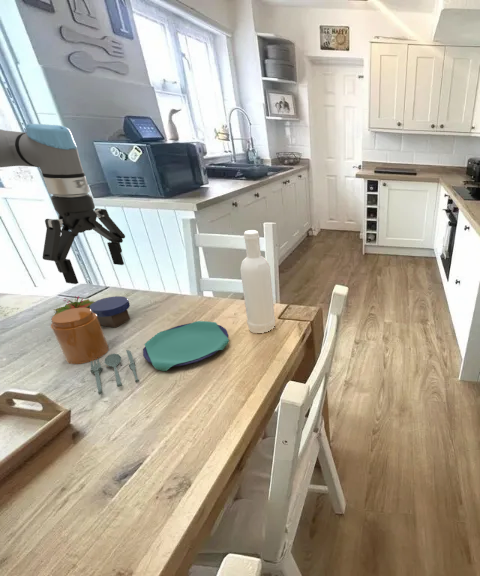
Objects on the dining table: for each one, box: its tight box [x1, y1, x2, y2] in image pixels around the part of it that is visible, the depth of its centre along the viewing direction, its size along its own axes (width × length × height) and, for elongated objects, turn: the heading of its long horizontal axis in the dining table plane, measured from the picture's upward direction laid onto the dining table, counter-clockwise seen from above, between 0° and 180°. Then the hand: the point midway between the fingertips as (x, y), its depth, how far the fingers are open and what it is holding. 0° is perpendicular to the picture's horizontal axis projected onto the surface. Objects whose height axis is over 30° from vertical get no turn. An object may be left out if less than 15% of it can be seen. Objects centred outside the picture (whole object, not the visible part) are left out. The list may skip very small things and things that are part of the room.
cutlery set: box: [90, 320, 230, 396], centre depth 84 cm, size 20×30×2 cm, turn 132°
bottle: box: [239, 229, 276, 334], centre depth 92 cm, size 8×8×30 cm
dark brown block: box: [98, 309, 131, 329], centre depth 95 cm, size 5×5×6 cm
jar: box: [50, 308, 110, 365], centre depth 80 cm, size 8×8×12 cm
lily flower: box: [51, 295, 95, 318], centre depth 99 cm, size 12×12×5 cm
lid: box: [90, 295, 131, 317], centre depth 94 cm, size 9×9×2 cm
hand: (97, 273), depth 89 cm, fingers open, 13 cm apart
